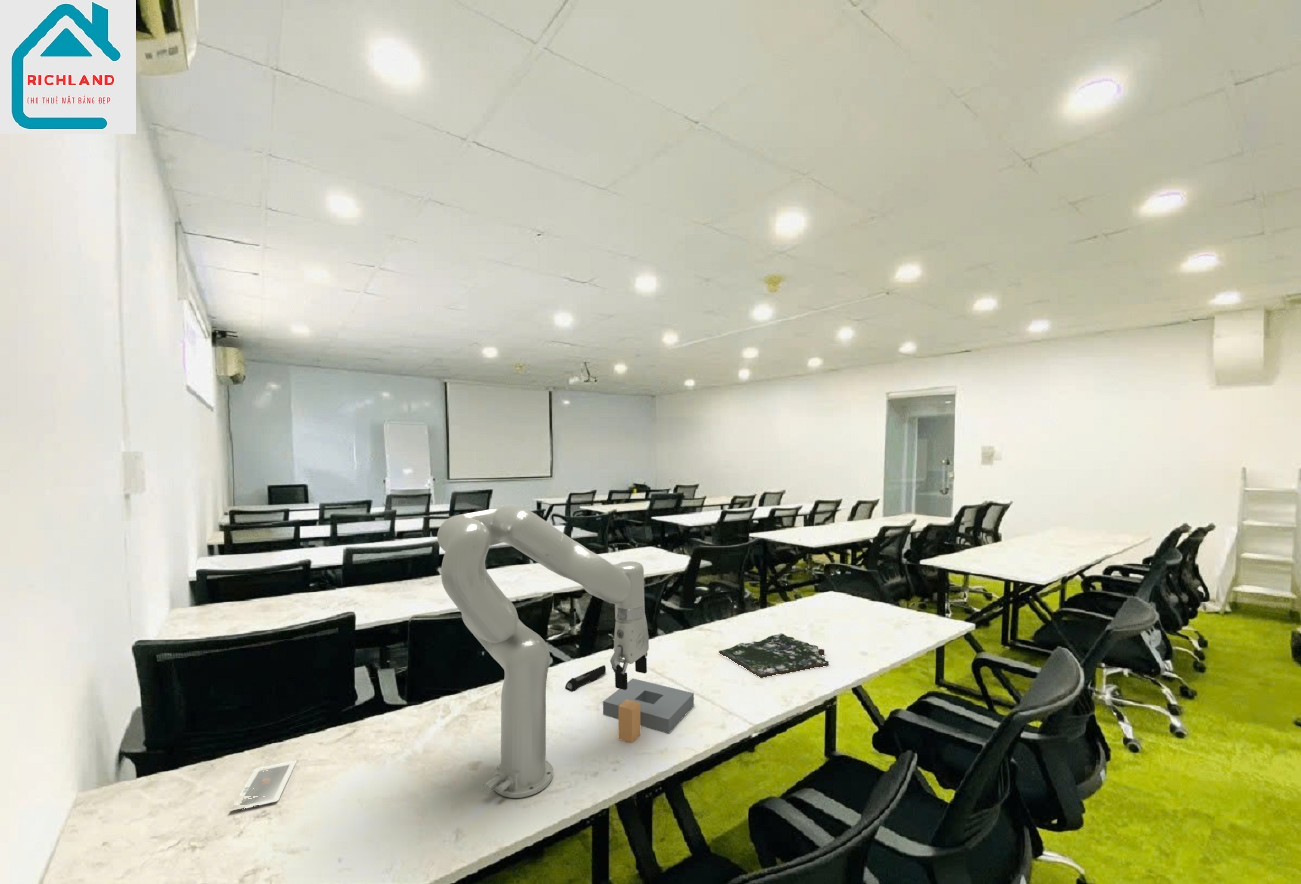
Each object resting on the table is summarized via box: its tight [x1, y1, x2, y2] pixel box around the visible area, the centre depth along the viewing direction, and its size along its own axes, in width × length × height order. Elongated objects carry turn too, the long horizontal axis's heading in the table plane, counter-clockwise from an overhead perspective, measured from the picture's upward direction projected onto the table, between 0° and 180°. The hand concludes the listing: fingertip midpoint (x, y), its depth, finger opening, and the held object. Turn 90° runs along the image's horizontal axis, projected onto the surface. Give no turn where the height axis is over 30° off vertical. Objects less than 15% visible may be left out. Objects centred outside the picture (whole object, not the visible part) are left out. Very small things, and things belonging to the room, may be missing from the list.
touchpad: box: [233, 759, 298, 810], centre depth 105 cm, size 8×15×2 cm, turn 23°
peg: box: [618, 700, 641, 744], centre depth 123 cm, size 4×4×8 cm
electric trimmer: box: [564, 664, 607, 692], centre depth 154 cm, size 4×16×3 cm, turn 140°
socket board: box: [602, 678, 695, 734], centre depth 136 cm, size 16×20×4 cm
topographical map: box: [718, 633, 829, 679], centre depth 172 cm, size 26×33×3 cm
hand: (631, 680), depth 124 cm, fingers open, 9 cm apart
